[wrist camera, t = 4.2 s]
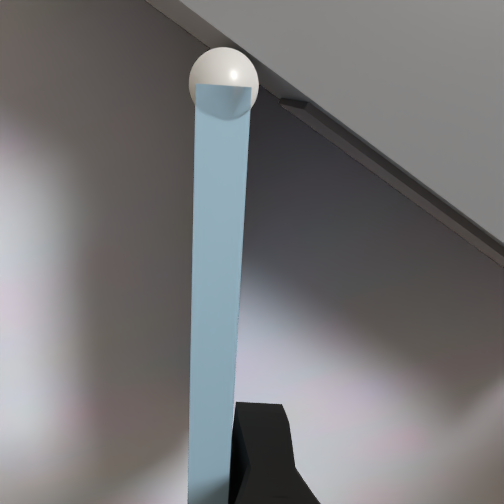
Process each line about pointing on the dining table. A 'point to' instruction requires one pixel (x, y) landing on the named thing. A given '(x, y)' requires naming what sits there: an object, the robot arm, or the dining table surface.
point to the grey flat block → (386, 90)
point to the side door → (216, 261)
